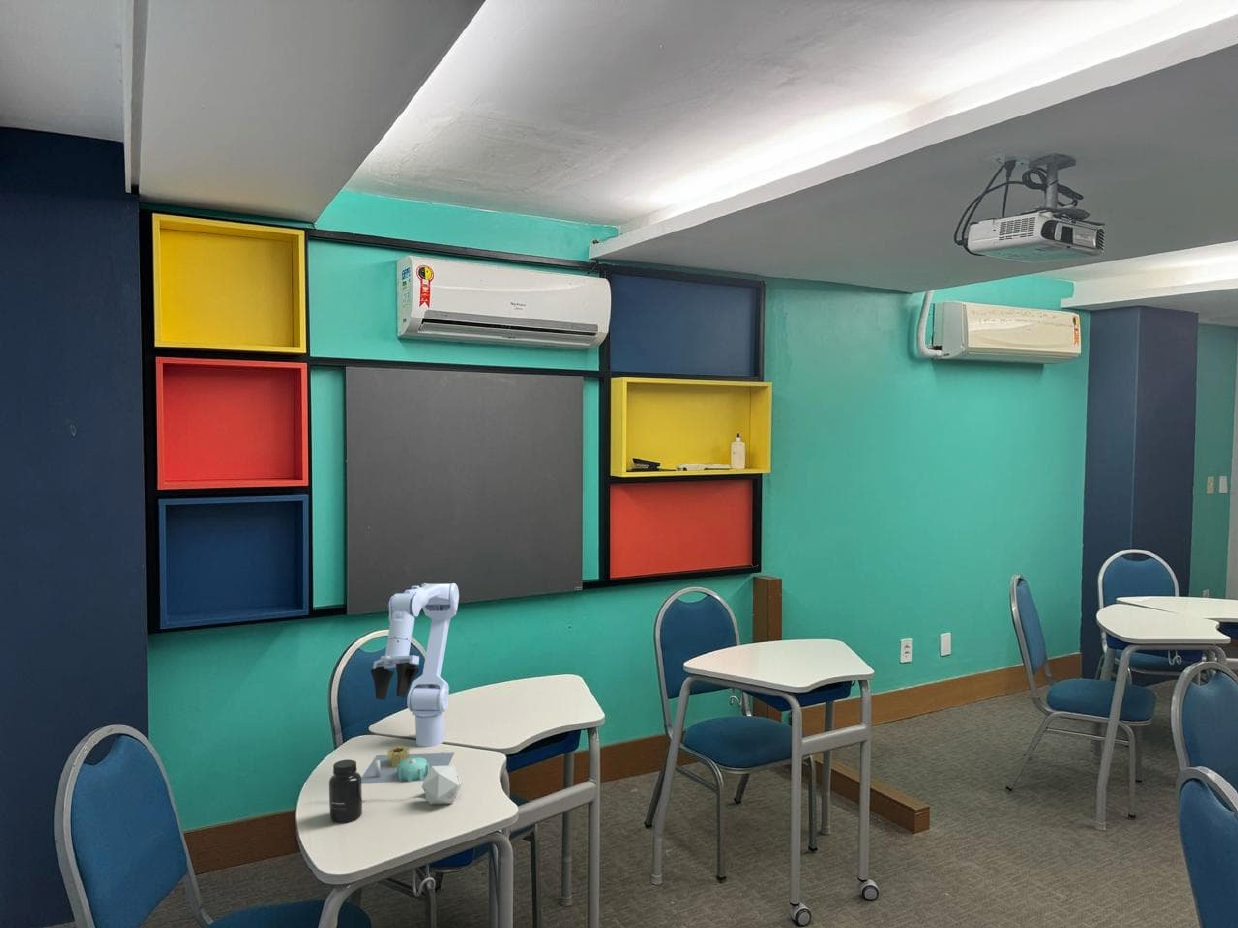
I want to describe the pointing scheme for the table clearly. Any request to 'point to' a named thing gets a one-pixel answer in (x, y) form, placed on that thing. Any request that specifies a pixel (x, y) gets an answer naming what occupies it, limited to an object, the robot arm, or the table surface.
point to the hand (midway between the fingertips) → (390, 697)
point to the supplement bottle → (345, 792)
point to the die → (441, 784)
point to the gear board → (393, 770)
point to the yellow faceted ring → (397, 755)
